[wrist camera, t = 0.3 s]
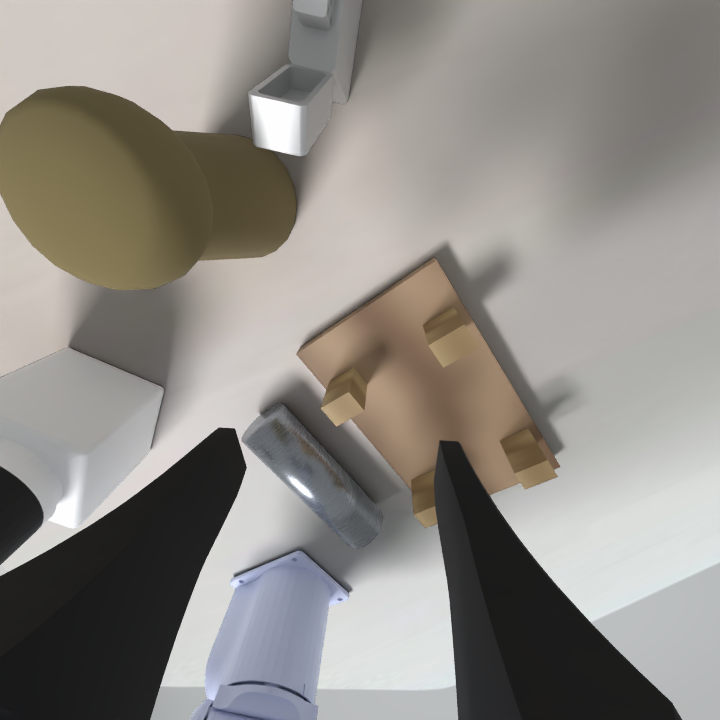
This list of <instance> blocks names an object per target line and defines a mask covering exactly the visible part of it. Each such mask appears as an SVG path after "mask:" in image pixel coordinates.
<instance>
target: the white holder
mask: <svg viewBox="0 0 720 720" xmlns="http://www.w3.org/2000/svg"><path fill="white" fill-rule="evenodd" d="M362 2H363V0H292V13H291V26H290V39H289V52H288V58H289V60H290V62H291V63H292V64H285V65H284V66H283V67H281V68H280V69H279V70H277V71H276V72H275V73H273V74H272V75H270V76H269V77H268V78H266V79H265V80H264V81H262V82H261V83H260V84H258V85H257V86H256V87H254V88H253V89H252V90H250V91H249V92H248V99H249V109H250V118H251V128H252V138H253V144H254V145H255V146H256V147H260V148H265V149H269V150H274V151H278V152H283V153H287V154H292V155H296V156H305V155H307V153H308V152H309V150H310V149H311V147H312V146H313V144H314V143H315V141H316V140H317V138H318V137H319V135H320V134H321V132H322V131H323V129H324V128H325V126H326V125H327V123H328V121H329V120H330V118H331V107H332V102H335V103H339V104H345V103H346V102H347V101H348V98H349V91H350V84H351V77H352V71H353V64H354V57H355V50H356V43H357V36H358V29H359V23H360V16H361V9H362Z"/></svg>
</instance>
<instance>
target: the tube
mask: <svg viewBox="0 0 720 720" xmlns="http://www.w3.org/2000/svg"><path fill="white" fill-rule="evenodd" d="M242 442H243V443H244V444H245V445H246V446H247V447H248V448H249V449H250V450H251V451H252V452H253V453H254V454H255V455H256V456H257V457H258V458H259V459H260V460H261V461H262V462H263V463H264V464H265V465H266V466H267V467H268V468H270V469H271V470H272V471H273V472H274V473H275V474H276V475H277V476H278V477H279V478H280V479H281V480H282V481H283V482H284V483H285V484H286V485H287V486H288V487H289V488H290V489H291V490H292V491H293V492H294V493H295V494H296V495H297V496H298V497H299V498H300V499H301V500H302V501H303V502H305V503H306V504H307V505H308V506H309V507H310V508H311V509H312V510H313V511H314V512H315V513H316V514H317V515H318V516H319V517H320V518H321V519H322V520H323V521H324V522H325V523H326V524H327V525H328V526H329V527H330V528H331V529H332V530H333V531H334V532H335V533H336V534H337V535H338V536H339V537H341V538H342V539H343V540H344V541H345V542H346V543H347V544H348V545H349V546H350V547H351V548H355V549H358V548H362V547H364V546H366V545H367V544H369V543H370V542H371V541H372V540H373V539H374V538H375V537H376V535H377V534H378V532H379V530H380V528H381V525H382V520H383V516H382V512H381V510H380V509H379V508H378V506H377V505H376V504H375V503H374V502H373V501H372V500H371V499H370V498H369V497H368V496H367V495H366V493H365V492H364V491H363V490H362V489H361V488H360V487H359V486H358V485H357V484H356V483H355V482H354V480H353V479H352V478H351V477H350V476H349V475H348V474H347V473H346V472H345V471H344V470H343V468H342V467H341V466H340V465H339V464H338V463H337V462H336V461H335V460H334V459H333V458H332V457H331V455H330V454H329V453H328V452H327V451H326V450H325V449H324V448H323V447H322V446H321V445H320V444H319V442H318V441H317V440H316V439H315V438H314V437H313V436H312V435H311V434H310V433H309V432H308V430H307V429H306V428H305V427H304V426H303V425H302V424H301V423H300V422H299V421H298V420H297V419H296V417H295V416H294V415H293V414H292V413H291V412H290V411H289V410H288V409H287V408H286V407H285V406H284V404H282V403H279V404H277V405H275V406H274V407H272V408H271V409H269V410H267V411H266V412H264V413H262V414H261V415H260V416H259V417H258V418H257V419H256V420H255V421H254V422H253V423H252V424H251V425H250V426H249V427H248V429H247V430H246V431H245V433H244V435H243V437H242Z"/></svg>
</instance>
